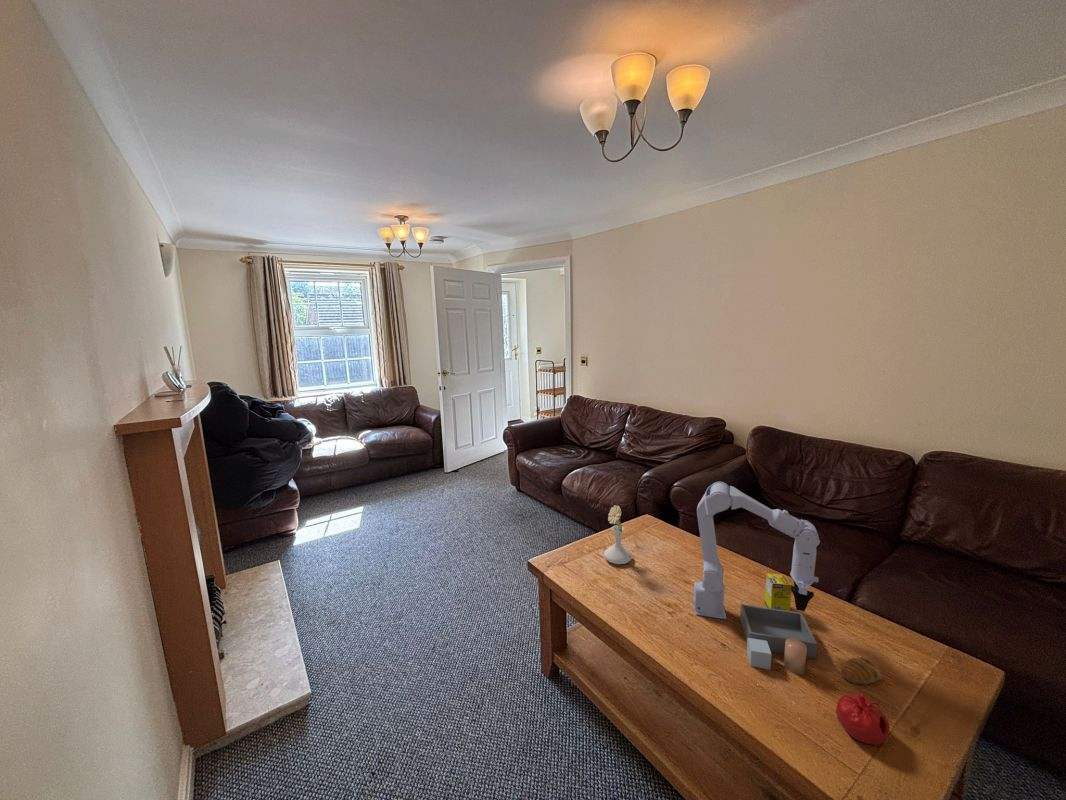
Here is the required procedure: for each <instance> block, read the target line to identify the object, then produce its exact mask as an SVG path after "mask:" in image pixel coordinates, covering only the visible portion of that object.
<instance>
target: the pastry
mask: <svg viewBox="0 0 1066 800" xmlns="http://www.w3.org/2000/svg"><path fill="white" fill-rule="evenodd" d="M840 671H841V677H842V678H843V679H845V680H847V681H848V682H850V683H852V684H862V685H868V684H872V683H876V682H878V681H879V680H881V679H882V675H881V672H880V671H879V669H878V666H877V665H876V664H875V663H874V662H873V661H872V660H871V659H869V658H866V657H863V656H858V657H852V658H849V659H848V660H846V661H845V662H844V664H843V666H842V668H841V669H840Z"/></svg>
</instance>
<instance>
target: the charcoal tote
mask: <svg viewBox="0 0 1066 800" xmlns="http://www.w3.org/2000/svg"><path fill="white" fill-rule="evenodd" d="M739 618H740V623H741V626H742V628H743V629H742V630H743V632H744V633H743V634H744V636H745V640H746V641H747V640H748V638H753V639H759V640H765V641H767V643H768V645H769V648H770V651H771V653H775V654H782V655H784V653H785V641H786V640H787V639H789V638H793V639H797V640H799V641H801V642H803V643H804V644H805V645H806V647H807V653H806V659H811V660H817V659H816V658H817V650H818V649H817V648H818V643H817V641H816V639H815V637H814V635H813V632H812V631H811V629H810V627H809V625H808V622H807V621H806V619H805V617H804V615H803V612H798V611H791V610H790V611H785V610H778V609H771V608H768V607H765V606H764V607H763V606H757V605H749V604H743V603H741V604H740V613H739Z"/></svg>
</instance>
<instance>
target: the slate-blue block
mask: <svg viewBox="0 0 1066 800" xmlns="http://www.w3.org/2000/svg"><path fill="white" fill-rule="evenodd" d="M746 654H747V659H748V662H749V666H750V667H755V668H759V669H766V670H771V666H772V665H771V664H772V652H771V651H770V648H769V645H768V643H767V641H765V640H759V639H753V638H748V640H746Z"/></svg>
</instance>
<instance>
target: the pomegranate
mask: <svg viewBox="0 0 1066 800" xmlns="http://www.w3.org/2000/svg"><path fill="white" fill-rule="evenodd" d="M856 692H857V694H842V693H841V695H842V696H841V697H840V698H839V699H838V700H837V704H836V709H835V713H836V717H837V720H838V722H839V723H840V725H841V726H842V727H843V729H844V730H845V731H846V732H847V734H848V735H850V736H851V738H854V739H855V740H857V741H859V742H862V743H865V744H867V745H881V744H883V743H885V742H886V741H887V739H888V736H889V734H890V729H891V728H890V727H891V726H890V723H889V720H888V718H887V717H886V715H885V714H884V713H883V712H882V710H881V709H880V708H879V707H878V706H876V705H880V702H877V701H875V700H873V701H871V700H869V699H868V698H867V697H866V695H865V694H864V693H860V692H859V691H858V690H856ZM875 704H876V705H875Z"/></svg>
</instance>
